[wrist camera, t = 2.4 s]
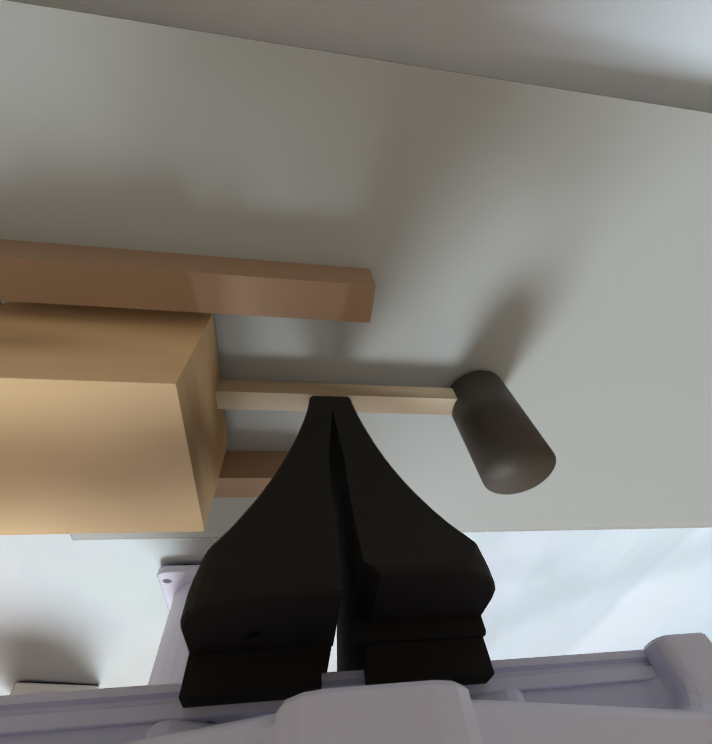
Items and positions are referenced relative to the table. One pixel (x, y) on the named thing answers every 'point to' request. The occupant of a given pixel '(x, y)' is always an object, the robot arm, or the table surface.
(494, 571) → the table surface
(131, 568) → the table surface
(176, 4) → the table surface
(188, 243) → the lane
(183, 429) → the wooden mallet
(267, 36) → the table surface
